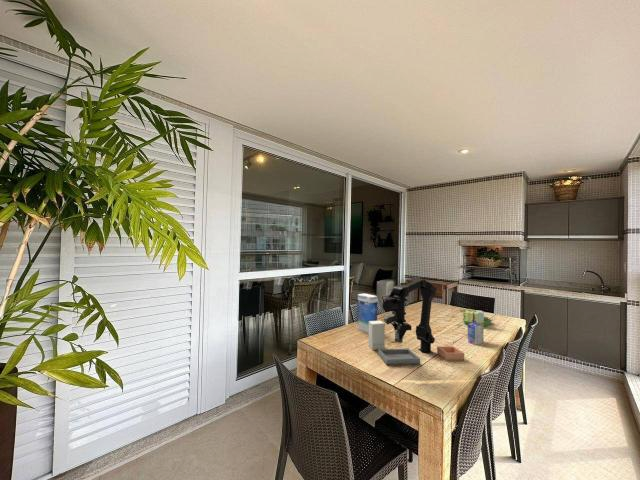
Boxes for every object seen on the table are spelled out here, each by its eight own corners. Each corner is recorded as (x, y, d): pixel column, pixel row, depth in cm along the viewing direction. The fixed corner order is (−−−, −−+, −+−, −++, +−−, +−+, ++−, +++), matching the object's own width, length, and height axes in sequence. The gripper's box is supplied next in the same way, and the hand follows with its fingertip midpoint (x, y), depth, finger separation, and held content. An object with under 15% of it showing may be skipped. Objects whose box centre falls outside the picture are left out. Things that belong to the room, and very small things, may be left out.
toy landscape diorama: (471, 317, 243) (471, 302, 243) (497, 323, 229) (497, 306, 229) (455, 325, 219) (455, 308, 219) (483, 331, 205) (484, 313, 205)
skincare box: (380, 345, 171) (381, 320, 171) (385, 349, 164) (385, 323, 164) (367, 346, 169) (368, 320, 170) (371, 350, 163) (372, 323, 163)
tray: (378, 354, 157) (378, 349, 157) (408, 353, 159) (408, 348, 159) (386, 365, 143) (386, 359, 143) (420, 364, 145) (420, 358, 145)
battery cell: (393, 340, 153) (394, 328, 153) (400, 340, 153) (401, 328, 153) (396, 342, 149) (396, 330, 149) (403, 342, 149) (404, 330, 149)
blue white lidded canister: (377, 332, 196) (378, 296, 196) (369, 334, 191) (370, 297, 192) (364, 327, 207) (364, 293, 207) (356, 329, 202) (357, 294, 203)
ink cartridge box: (475, 340, 185) (475, 318, 185) (484, 342, 180) (484, 320, 180) (466, 342, 180) (467, 320, 180) (475, 345, 175) (475, 322, 175)
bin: (437, 353, 160) (437, 346, 160) (453, 353, 161) (453, 346, 161) (446, 360, 150) (446, 353, 150) (464, 360, 151) (464, 353, 151)
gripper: (379, 305, 159) (379, 333, 159) (391, 314, 141) (390, 345, 141) (398, 305, 161) (397, 332, 160) (412, 314, 142) (411, 344, 142)
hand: (398, 338), depth 151 cm, fingers closed on battery cell, 4 cm apart
